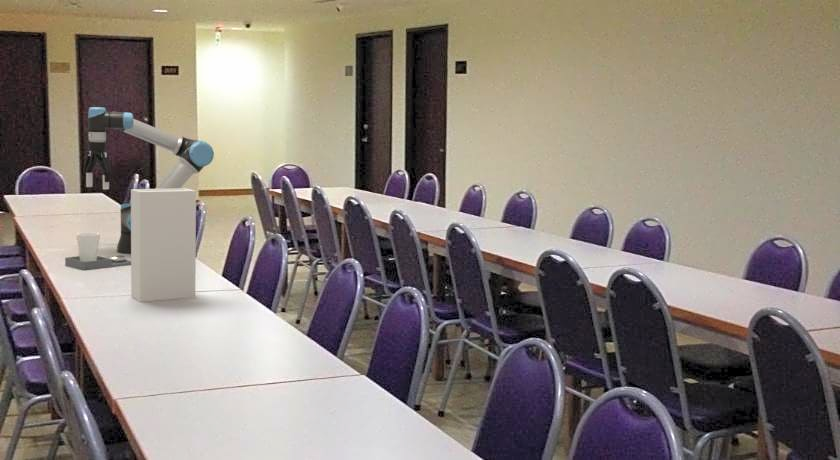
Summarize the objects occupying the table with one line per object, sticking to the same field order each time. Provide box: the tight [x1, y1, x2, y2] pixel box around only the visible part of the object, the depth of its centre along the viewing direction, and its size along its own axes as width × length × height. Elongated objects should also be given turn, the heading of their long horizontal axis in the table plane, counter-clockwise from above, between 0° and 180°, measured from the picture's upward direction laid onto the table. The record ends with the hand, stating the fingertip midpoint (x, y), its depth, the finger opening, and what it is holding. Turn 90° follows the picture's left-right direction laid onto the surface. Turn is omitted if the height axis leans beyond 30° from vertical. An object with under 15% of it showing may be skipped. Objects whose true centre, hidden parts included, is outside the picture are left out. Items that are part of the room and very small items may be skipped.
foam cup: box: [76, 232, 101, 262], centre depth 413 cm, size 10×9×13 cm
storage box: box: [130, 187, 197, 303], centre depth 353 cm, size 21×10×40 cm, turn 124°
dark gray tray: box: [64, 255, 131, 271], centre depth 418 cm, size 25×15×4 cm, turn 140°
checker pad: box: [104, 254, 126, 262], centre depth 423 cm, size 9×9×2 cm
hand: (97, 188), depth 435 cm, fingers open, 13 cm apart
